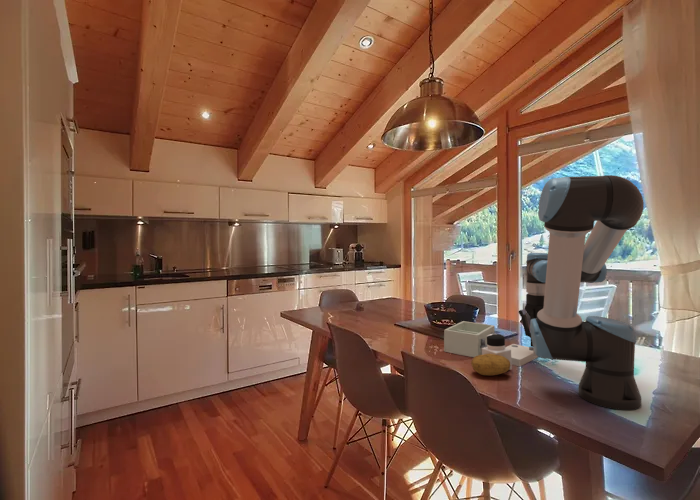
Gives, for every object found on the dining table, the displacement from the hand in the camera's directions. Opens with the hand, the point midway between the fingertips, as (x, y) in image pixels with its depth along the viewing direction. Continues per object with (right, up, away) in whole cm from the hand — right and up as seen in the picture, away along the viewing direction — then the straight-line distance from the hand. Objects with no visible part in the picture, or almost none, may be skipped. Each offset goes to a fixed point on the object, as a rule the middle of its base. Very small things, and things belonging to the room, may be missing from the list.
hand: (536, 355), depth 144 cm
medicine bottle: (-18, -2, -8) cm, 20 cm away
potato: (-23, -3, -14) cm, 27 cm away
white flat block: (-6, -3, +4) cm, 8 cm away
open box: (-19, -2, +15) cm, 24 cm away
